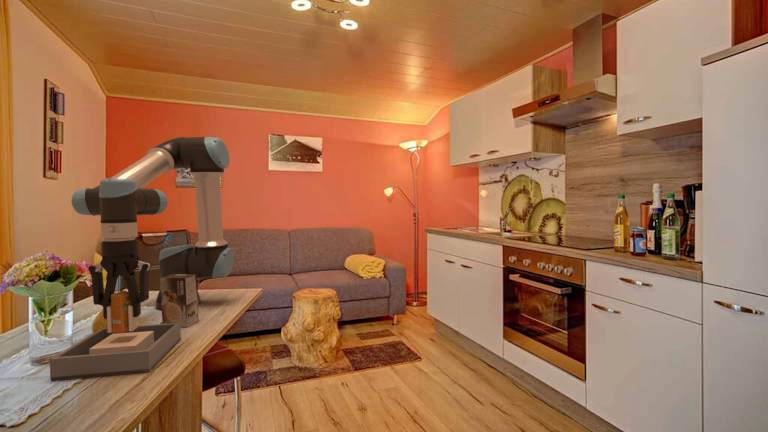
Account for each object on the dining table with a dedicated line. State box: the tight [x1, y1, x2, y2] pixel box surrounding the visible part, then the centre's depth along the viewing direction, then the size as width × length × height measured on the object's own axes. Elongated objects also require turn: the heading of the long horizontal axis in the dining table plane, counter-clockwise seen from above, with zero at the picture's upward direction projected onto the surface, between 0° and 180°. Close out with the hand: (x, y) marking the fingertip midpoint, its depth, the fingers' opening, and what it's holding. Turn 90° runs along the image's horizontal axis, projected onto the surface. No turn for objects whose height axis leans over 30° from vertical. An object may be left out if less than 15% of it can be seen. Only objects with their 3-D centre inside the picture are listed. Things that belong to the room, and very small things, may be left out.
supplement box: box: [111, 290, 132, 333], centre depth 90 cm, size 3×3×10 cm
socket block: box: [89, 331, 154, 354], centre depth 91 cm, size 10×10×4 cm
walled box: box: [49, 323, 182, 382], centre depth 91 cm, size 20×20×5 cm
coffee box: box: [159, 274, 200, 328], centre depth 116 cm, size 9×6×16 cm
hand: (122, 329), depth 90 cm, fingers closed on supplement box, 4 cm apart
